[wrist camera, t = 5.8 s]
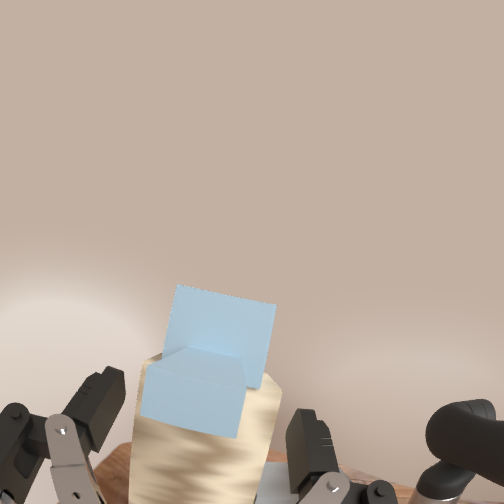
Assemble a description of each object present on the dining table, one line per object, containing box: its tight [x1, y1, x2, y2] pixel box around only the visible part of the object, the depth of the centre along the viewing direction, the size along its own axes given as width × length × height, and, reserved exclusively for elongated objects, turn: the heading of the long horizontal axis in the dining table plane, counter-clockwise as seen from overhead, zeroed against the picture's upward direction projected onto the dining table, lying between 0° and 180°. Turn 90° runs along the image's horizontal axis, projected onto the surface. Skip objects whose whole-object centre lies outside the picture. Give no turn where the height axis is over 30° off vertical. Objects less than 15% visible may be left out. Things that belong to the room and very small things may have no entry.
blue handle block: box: [140, 284, 277, 439], centre depth 17 cm, size 7×16×6 cm, turn 3°
